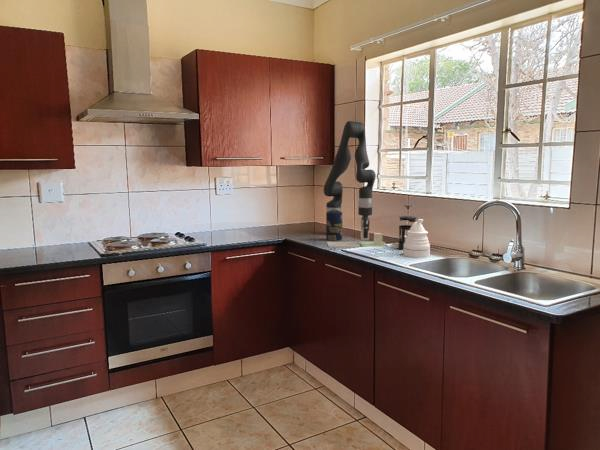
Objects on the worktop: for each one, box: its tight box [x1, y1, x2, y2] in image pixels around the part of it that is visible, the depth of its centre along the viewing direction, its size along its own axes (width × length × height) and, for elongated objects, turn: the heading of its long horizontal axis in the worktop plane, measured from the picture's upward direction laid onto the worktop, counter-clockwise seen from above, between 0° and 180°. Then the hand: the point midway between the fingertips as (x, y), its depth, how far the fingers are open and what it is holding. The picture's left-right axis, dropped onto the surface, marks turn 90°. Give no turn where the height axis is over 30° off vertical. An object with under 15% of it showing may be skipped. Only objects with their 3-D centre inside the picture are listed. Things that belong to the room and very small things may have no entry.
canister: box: [325, 210, 343, 242], centre depth 280 cm, size 10×10×18 cm
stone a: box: [373, 232, 383, 245], centre depth 264 cm, size 4×4×6 cm
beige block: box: [360, 228, 370, 241], centre depth 263 cm, size 4×4×6 cm
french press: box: [397, 205, 417, 251], centre depth 253 cm, size 12×9×23 cm
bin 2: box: [357, 240, 389, 248], centre depth 265 cm, size 12×14×1 cm
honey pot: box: [402, 218, 431, 259], centre depth 236 cm, size 13×13×18 cm
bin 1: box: [326, 241, 361, 248], centre depth 264 cm, size 12×17×1 cm
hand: (364, 237), depth 264 cm, fingers closed on beige block, 4 cm apart
